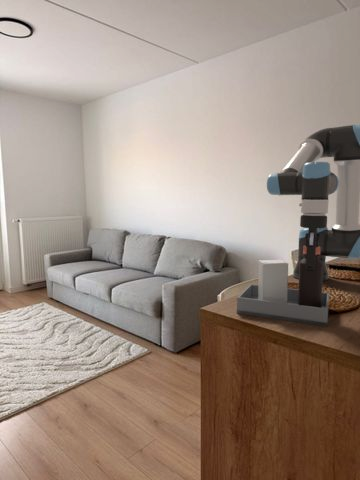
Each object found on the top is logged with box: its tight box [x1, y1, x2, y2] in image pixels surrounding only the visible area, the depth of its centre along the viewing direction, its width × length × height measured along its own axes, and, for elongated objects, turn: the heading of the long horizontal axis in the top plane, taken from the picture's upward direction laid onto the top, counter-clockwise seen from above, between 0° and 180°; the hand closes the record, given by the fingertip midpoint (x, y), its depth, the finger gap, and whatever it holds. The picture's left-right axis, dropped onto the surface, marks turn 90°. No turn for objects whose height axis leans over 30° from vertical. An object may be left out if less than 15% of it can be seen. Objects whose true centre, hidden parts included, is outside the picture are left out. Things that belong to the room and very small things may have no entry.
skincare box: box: [257, 258, 289, 303], centre depth 108 cm, size 8×6×15 cm
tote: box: [236, 283, 330, 327], centre depth 107 cm, size 18×26×5 cm
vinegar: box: [298, 246, 324, 308], centre depth 102 cm, size 7×7×20 cm
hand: (309, 290), depth 104 cm, fingers open, 3 cm apart
